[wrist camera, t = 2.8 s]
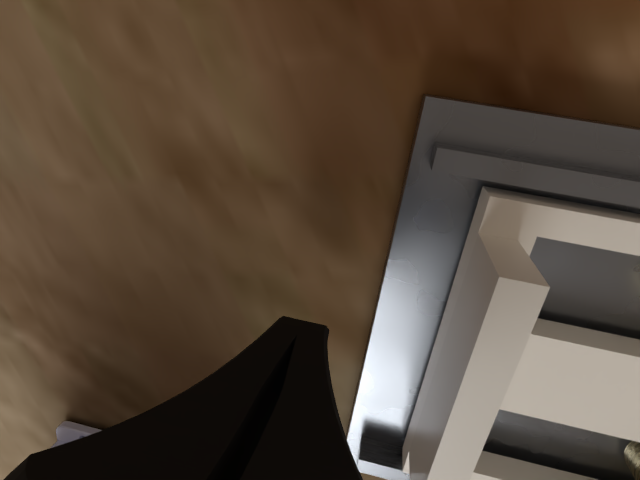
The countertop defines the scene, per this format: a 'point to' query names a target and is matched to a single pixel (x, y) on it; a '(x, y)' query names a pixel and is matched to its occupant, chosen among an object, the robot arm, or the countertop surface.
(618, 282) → the boss plate
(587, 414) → the panel
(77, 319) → the countertop surface
